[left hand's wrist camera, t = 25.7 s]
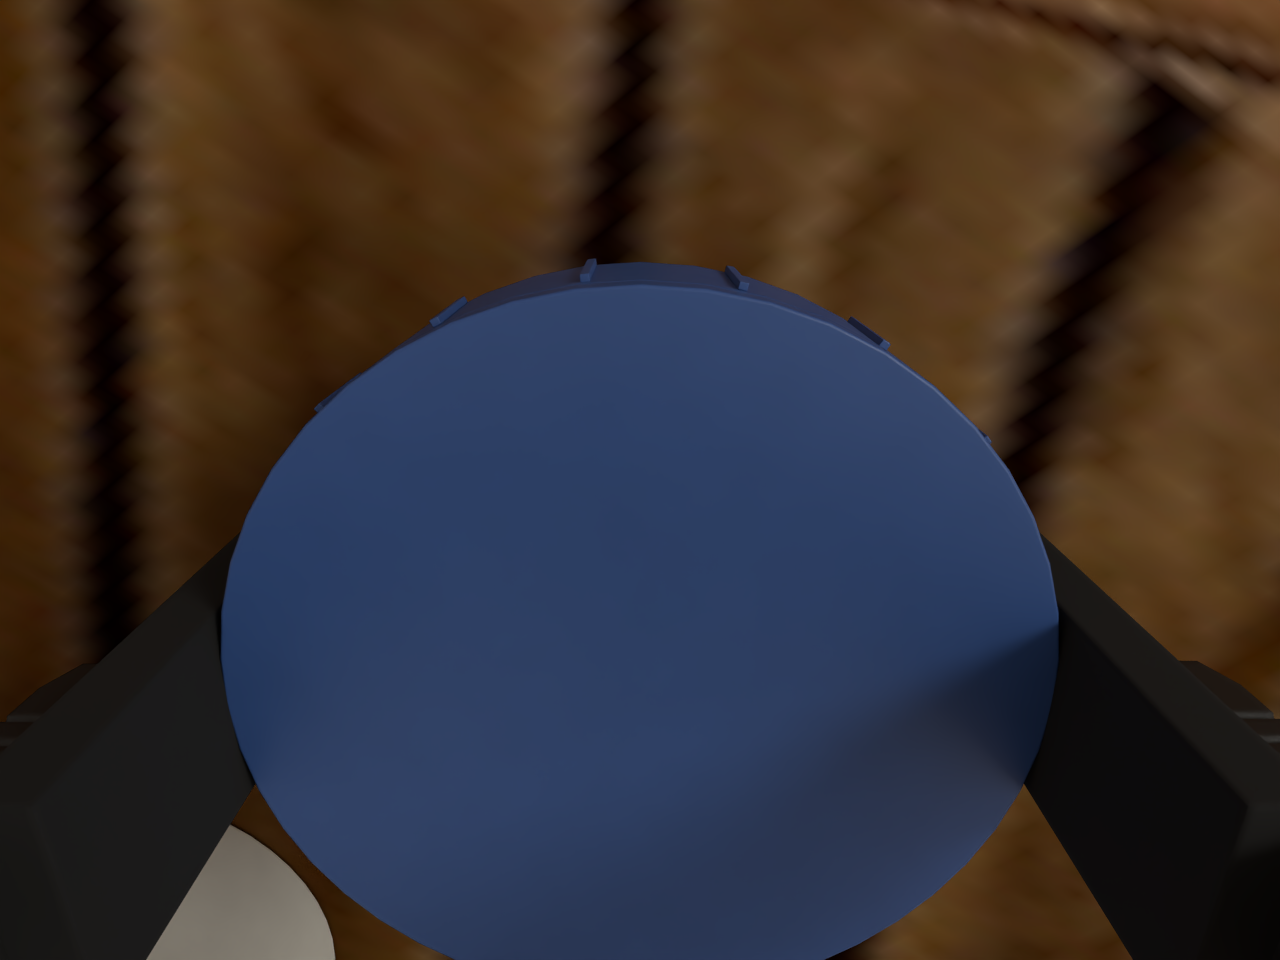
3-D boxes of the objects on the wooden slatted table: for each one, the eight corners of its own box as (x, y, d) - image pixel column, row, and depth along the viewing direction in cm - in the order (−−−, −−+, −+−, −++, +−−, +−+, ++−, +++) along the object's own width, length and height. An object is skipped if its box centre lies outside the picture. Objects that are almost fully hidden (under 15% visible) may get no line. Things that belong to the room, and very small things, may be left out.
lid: (290, 851, 14) (232, 964, 12) (272, 201, 10) (183, 209, 8) (893, 912, 14) (933, 1030, 12) (1093, 315, 11) (1196, 350, 9)
